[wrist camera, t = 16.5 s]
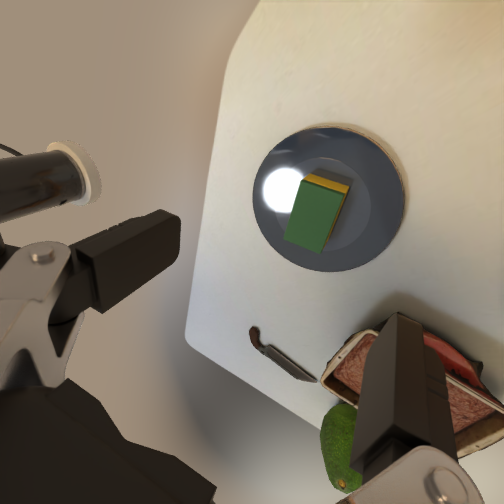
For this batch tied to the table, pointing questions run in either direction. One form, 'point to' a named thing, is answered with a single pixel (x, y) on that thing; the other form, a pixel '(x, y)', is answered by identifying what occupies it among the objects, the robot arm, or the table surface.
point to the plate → (355, 203)
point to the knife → (278, 358)
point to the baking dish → (458, 383)
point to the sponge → (314, 212)
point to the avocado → (340, 447)
